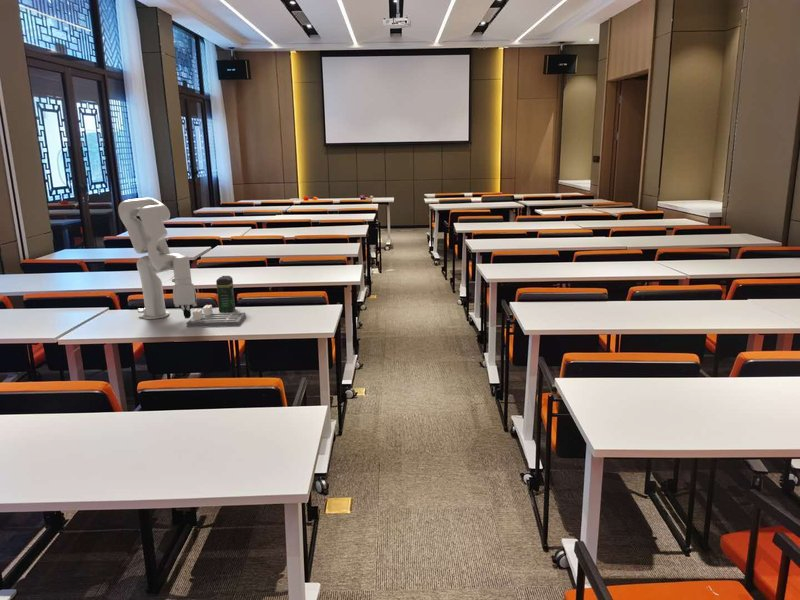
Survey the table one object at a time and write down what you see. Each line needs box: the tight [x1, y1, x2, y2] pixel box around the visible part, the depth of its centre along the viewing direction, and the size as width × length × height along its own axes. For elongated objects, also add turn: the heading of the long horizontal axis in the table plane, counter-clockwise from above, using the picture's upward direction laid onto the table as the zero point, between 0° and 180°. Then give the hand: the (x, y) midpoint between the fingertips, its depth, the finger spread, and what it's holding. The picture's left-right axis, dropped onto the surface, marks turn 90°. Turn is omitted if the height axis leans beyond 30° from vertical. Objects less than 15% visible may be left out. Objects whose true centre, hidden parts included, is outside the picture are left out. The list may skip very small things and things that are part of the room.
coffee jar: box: [215, 275, 236, 313], centre depth 306 cm, size 10×8×19 cm
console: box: [185, 304, 247, 328], centre depth 290 cm, size 25×15×7 cm, turn 92°
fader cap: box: [192, 308, 203, 320], centre depth 286 cm, size 3×5×4 cm, turn 2°
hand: (187, 317), depth 286 cm, fingers closed
